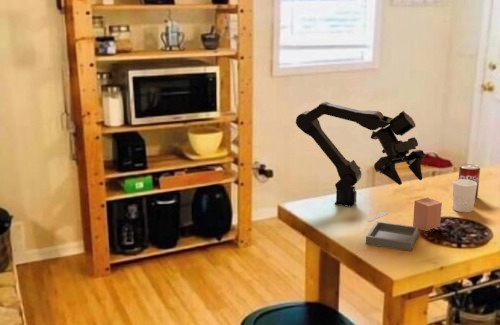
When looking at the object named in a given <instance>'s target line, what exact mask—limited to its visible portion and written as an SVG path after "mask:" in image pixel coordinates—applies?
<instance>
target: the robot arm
mask: <svg viewBox="0 0 500 325" xmlns="http://www.w3.org/2000/svg"><path fill="white" fill-rule="evenodd" d="M324 115H327V116H330V117H333V118H338V119H341V120H346V121H349V122H354V123H356V124H358V125H359V126H361V127H363V128H365V129H367V130H370V131H372V132H371V135H370V139H372V140H374V141H376V140H378V141H379V144H380V145H381V147H382V150H381V153H382V154H385V156H380V157H379V159H378V160H376V162H375V163H374V164H373V168H374V170H375V171H376V173H380V174H382V175H384V176H386V177H387V178H389V179H390V180H392V181H393V182H395V183H396V184H397V185H399V186H402V184H403V182H402V179H401V178H400V175H399V173H398V171H397V169H396V165H398V164H401V163H402V164H403V163H406V164H407V165H408V166H407V167H408V169H409V170H410V171H411V172H412V174H413V175H414V176H415V177H416V179H418V180H419V181H422V180H423V174H422V168H421V163H422V161H423V160H424V158H425V157H426V154H425V152H424V151H423V150H422V149H417V147H418V146H419V142H418V140H417V138H416V137H415V136H414V137H410V138H407V140H406V141H403V140H398V138H397V136H401V137H402V136H404V135H406V133H409V132H410V131H412V130H413V129H414V128H416V123H415V120H414V118H412V116H410V115H409V114H407V113H406V111H405V110H402V111H401V112H400V113H399V114H397V115H396V116H394V117H389V116H387V115H384V114H383V113H382V112H381V111H379V110H359V109H355V108H351V107H347V106H342V105H338V104H334V103H331V102H328V101H323V102H321V103H320V104H319V105H318V106H316V107H314V108H313V109H311V110H305V111H303V112H302V113H300V114H298V115H297V116H296V119H295V124H296V127H298V129H300V131H302V133H304V134H305V135H307V136H310V137H311V139H313V140H314V142H315V143H316V145H317V146H318V147H319V148H320V149H321V150H322V152H323V153H324V154H325V156H326V157H327V158H328V159H329V161H331V163H332V164H333V166H334V167H335V168H336V171H337V174H338V177H339V180H338V181H337V182H336V183H335V184H334V186H335V189H336V190H335V191H336V193H335V194H336V198H335V199H336V200H335V202H334V205H336V206H337V205H339V206H344V207H350V208H351V207H353V206H354V205H355V204H356V202H357V190H356V186H355V185H356V184H357V183H359V181H360V180H361V179H362V171H361V167H360V166H359V165H357V163H356V161H355V160H354V159H352V161H349V160H348V159H347V158H346V157H345V156H344V155H343V154H342V153H341V151H340V150H339V148H337V146H336V145H335V143H334V142H333V141H332V140H331V139H330V138H329V136H327V133H326V132H325V131H323V129H322V126H321V123H320V120H319V118H320V117H323V116H324ZM379 128H380V129H379ZM376 130H377V131H376ZM416 149H417V150H416ZM410 151H411V152H410Z"/></svg>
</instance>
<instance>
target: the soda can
mask: <svg viewBox="0 0 500 325" xmlns="http://www.w3.org/2000/svg"><path fill="white" fill-rule="evenodd" d="M480 175H481V168H480V166H479V165H476V164H471V163H465V164H461V165H460V166H459V167H458V176H457V177H458V179H467V180H472V181H475V182H476V183H477V188H476V196H475V200H476V199H477V198H478V194H479V183H480ZM458 179H457V180H458Z"/></svg>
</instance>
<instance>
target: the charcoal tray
mask: <svg viewBox="0 0 500 325" xmlns="http://www.w3.org/2000/svg"><path fill="white" fill-rule="evenodd" d="M419 233H420V229H419V227H413V226H412V225H406V224H397V223H391V222H387V221H379V220H377V221H376V222H375V223H374V225H373V226H372V228H371V229H370V230H369V231H368V233H367V235H366V236H365V245H371V246H376V247H383V248H388V249H395V250H401V251H408V252H411V251H412V249H413V247H414V246H415V243H416V241H417V239H418V237H419Z"/></svg>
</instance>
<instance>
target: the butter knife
mask: <svg viewBox="0 0 500 325" xmlns="http://www.w3.org/2000/svg"><path fill="white" fill-rule="evenodd" d="M387 215H388V212H386V211H381V212H379V213H377V214H376V215H375V216H374V217H372V218H371V219H368V220H367V222H368V223H371V222H373V221H375V220H378V219H379V218H381V217H384V216H387Z"/></svg>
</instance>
